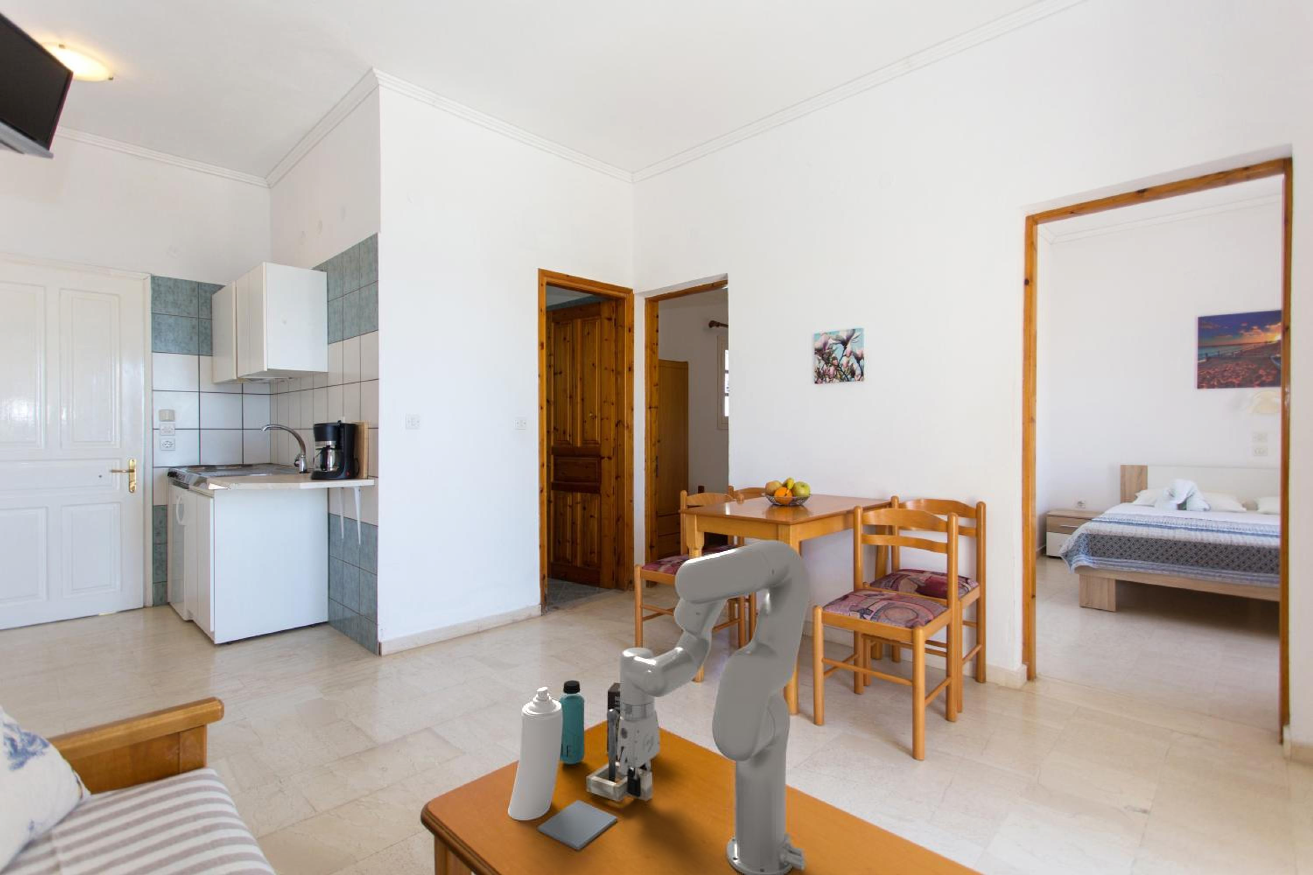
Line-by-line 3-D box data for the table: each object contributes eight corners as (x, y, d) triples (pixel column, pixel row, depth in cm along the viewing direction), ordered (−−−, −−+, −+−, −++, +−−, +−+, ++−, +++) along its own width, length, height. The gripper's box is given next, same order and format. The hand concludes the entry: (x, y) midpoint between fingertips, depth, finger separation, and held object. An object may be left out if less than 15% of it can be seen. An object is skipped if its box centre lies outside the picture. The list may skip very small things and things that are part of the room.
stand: (627, 790, 143) (627, 708, 143) (613, 800, 139) (613, 716, 139) (610, 783, 146) (610, 702, 146) (596, 793, 142) (596, 710, 142)
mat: (617, 819, 132) (617, 816, 132) (578, 850, 123) (578, 846, 123) (577, 802, 139) (577, 799, 139) (537, 829, 129) (537, 826, 129)
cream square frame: (661, 788, 140) (660, 765, 141) (637, 807, 133) (635, 783, 133) (612, 773, 148) (611, 751, 149) (586, 790, 141) (585, 767, 141)
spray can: (521, 788, 144) (522, 678, 144) (567, 792, 143) (567, 681, 143) (501, 818, 133) (502, 698, 133) (550, 823, 131) (551, 701, 131)
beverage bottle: (587, 757, 158) (587, 677, 158) (581, 771, 152) (582, 687, 152) (561, 756, 159) (562, 676, 159) (555, 770, 152) (555, 686, 152)
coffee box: (605, 754, 160) (606, 690, 160) (613, 743, 166) (613, 681, 166) (641, 759, 158) (641, 694, 158) (647, 746, 164) (647, 684, 164)
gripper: (628, 724, 130) (629, 815, 130) (672, 698, 143) (672, 780, 143) (600, 715, 134) (601, 803, 134) (645, 691, 148) (646, 771, 147)
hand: (638, 791), depth 139 cm, fingers closed on cream square frame
